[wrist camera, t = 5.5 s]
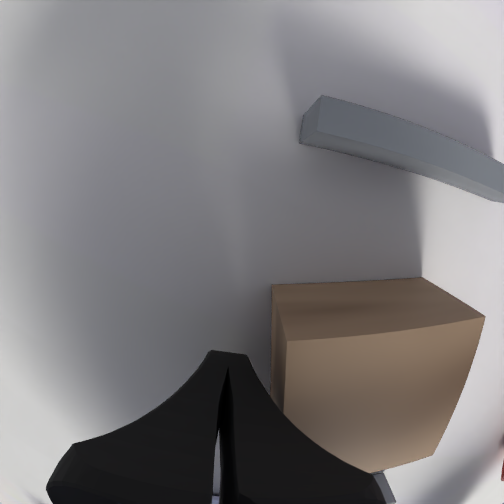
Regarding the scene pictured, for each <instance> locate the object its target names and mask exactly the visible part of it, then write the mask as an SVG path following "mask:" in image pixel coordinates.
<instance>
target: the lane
mask: <svg viewBox="0 0 504 504" xmlns="http://www.w3.org/2000/svg"><path fill="white" fill-rule="evenodd" d="M299 143H300V144H305V145H310V146H315V147H319V148H324V149H328V150H332V151H337V152H341V153H345V154H349V155H353V156H357V157H361V158H365V159H369V160H372V161H376V162H380V163H383V164H387V165H390V166H394V167H397V168H400V169H404V170H407V171H410V172H413V173H416V174H420V175H423V176H426V177H429V178H432V179H435V180H438V181H441V182H443V183H446V184H449V185H452V186H455V187H457V188H460V189H463V190H465V191H468V192H471V193H473V194H476V195H478V196H481V197H483V198H486V199H488V200H491V201H494V202H501V203H504V164H502V163H501V162H499V161H497V160H495V159H493V158H491V157H489V156H487V155H485V154H483V153H481V152H479V151H477V150H475V149H473V148H471V147H469V146H467V145H465V144H462V143H460V142H458V141H456V140H454V139H451V138H449V137H447V136H444V135H442V134H440V133H437V132H435V131H432V130H430V129H427V128H425V127H422V126H420V125H417V124H415V123H412V122H409V121H406V120H404V119H401V118H398V117H395V116H392V115H389V114H386V113H383V112H380V111H377V110H374V109H371V108H367V107H364V106H361V105H357V104H354V103H350V102H347V101H343V100H339V99H335V98H331V97H327V96H323V95H321V97H320V98H319V99H318V100H317V101H316V102H315V103H314V104H313V105H312V106H311V107H310V109H309V110H308V111H307V112H306V113H305V114H304V116H303V122H302V129H301V135H300V142H299ZM373 476H374V477H375V479H376V481H377V483H378V485H379V487H380V488H381V491H382V493H383V496H384V498H385V501H386V503H387V504H395V503H396V500H395V498H394V495H393V493H392V491H391V488H390V486H389V484H388V482H387V479H386V477H385V475H384V473H381V474H374V475H373Z"/></svg>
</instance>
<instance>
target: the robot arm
mask: <svg viewBox="0 0 504 504" xmlns="http://www.w3.org/2000/svg"><path fill="white" fill-rule="evenodd" d="M218 431H219V438H220V467H221V481H220V495H219V497H218V496H212V495H213V473H214V456H215V445H216V440H217V436H218ZM46 491H47V493H48V495H49V498H50V500H51V501H52V503H53V504H387V503H386V501H385V498H384V496H383V493H382V491H381V488H380V487H379V485H378V483H377V481H376V479H375V477H374V476H373V475H372V474H370V473H367V472H365V471H363V470H361V469H359V468H357V467H355V466H353V465H350V464H348V463H346V462H344V461H343V460H341V459H339V458H338V457H336V456H334V455H333V454H331V453H329V452H328V451H326V450H325V449H323V448H322V447H320V446H319V445H318V444H316V443H315V442H314V441H312V440H311V439H310V438H309V437H307V436H306V435H305V434H304V433H303V432H301V431H300V430H299V429H298V428H297V427H296V426H295V425H294V424H293V423H292V422H291V421H290V420H289V419H288V418H287V417H286V416H285V415H284V414H283V412H282V411H281V410H280V409H279V408H278V406H277V405H276V404H275V402H274V401H273V400H272V399H271V397H270V396H269V394H268V393H267V391H266V390H265V388H264V387H263V385H262V383H261V382H260V380H259V378H258V377H257V375H256V373H255V371H254V369H253V367H252V365H251V363H250V361H249V358H248V357H247V355H245V354H237V353H230V352H222V351H215V350H211V351H209V352H208V354H207V356H206V358H205V359H204V361H203V362H202V364H201V365H200V366H199V368H198V369H197V370H196V371H195V372H194V374H193V375H192V376H191V377H190V378H189V379H188V381H187V382H186V383H185V384H184V385H183V386H182V387H180V388H179V389H178V390H177V391H176V392H175V393H174V394H173V395H172V396H171V397H170V398H168V399H167V400H166V401H165V402H163V403H162V404H161V405H159V406H158V407H157V408H155V409H154V410H152V411H151V412H149V413H148V414H146V415H144V416H143V417H141V418H140V419H138V420H136V421H134V422H132V423H130V424H128V425H126V426H124V427H122V428H119V429H117V430H115V431H113V432H110V433H108V434H105V435H102V436H99V437H96V438H92V439H89V440H85V441H82V442H78V443H74V444H73V445H72V446H71V447H70V448H69V450H68V451H67V452H66V453H65V454H64V456H63V457H62V459H61V460H60V461H59V463H58V465H57V466H56V468H55V470H54V472H53V474H52V475H51V477H50V479H49V481H48V483H47V486H46ZM503 504H504V503H503Z"/></svg>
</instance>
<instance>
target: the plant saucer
mask: <svg viewBox="0 0 504 504" xmlns="http://www.w3.org/2000/svg"><path fill="white" fill-rule="evenodd" d="M501 481H504V461H503V467H502V475H501Z"/></svg>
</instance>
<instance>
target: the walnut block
mask: <svg viewBox="0 0 504 504" xmlns="http://www.w3.org/2000/svg"><path fill="white" fill-rule="evenodd" d="M485 317H486V316H484V315H483V314H481V313H480V312H478V311H477V310H475V309H473V308H472V307H470V306H469V305H467V304H465V303H464V302H462V301H461V300H459V299H457V298H456V297H454V296H453V295H451V294H449V293H448V292H446V291H444V290H443V289H441V288H439V287H438V286H436V285H434V284H433V283H431V282H429V281H428V280H426V279H424V278H423V277H422V278H407V279H391V280H373V281H354V282H332V283H308V284H277V285H272V317H271V387H270V397H271V399H272V400H273V401H274V402H275V404H276V405H277V406H278V408H279V409H280V410H281V411H282V412H283V414H284V415H285V416H286V417H287V418H288V419H289V420H290V421H291V422H292V423H293V424H294V425H295V426H296V427H297V428H298V429H299V430H300V431H301V432H303V433H304V434H305V435H306V436H307V437H309V438H310V439H311V440H312V441H314V442H315V443H316V444H318V445H319V446H320V447H322V448H323V449H325V450H326V451H328V452H329V453H331V454H333V455H334V456H336V457H338V458H339V459H341V460H343V461H344V462H346V463H348V464H350V465H353V466H355V467H357V468H359V469H361V470H363V471H365V472H367V473H373V472H377V471H381V470H385V469H389V468H393V467H396V466H400V465H403V464H407V463H410V462H413V461H417V460H420V459H423V458H426V457H429V456H432V455H433V454H434V452H435V450H436V448H437V446H438V444H439V442H440V440H441V438H442V436H443V434H444V432H445V430H446V428H447V426H448V423H449V421H450V419H451V417H452V414H453V412H454V410H455V407H456V405H457V403H458V400H459V398H460V395H461V393H462V390H463V388H464V385H465V382H466V380H467V377H468V374H469V371H470V368H471V365H472V362H473V359H474V356H475V353H476V350H477V346H478V343H479V339H480V336H481V332H482V328H483V325H484V321H485Z"/></svg>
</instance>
